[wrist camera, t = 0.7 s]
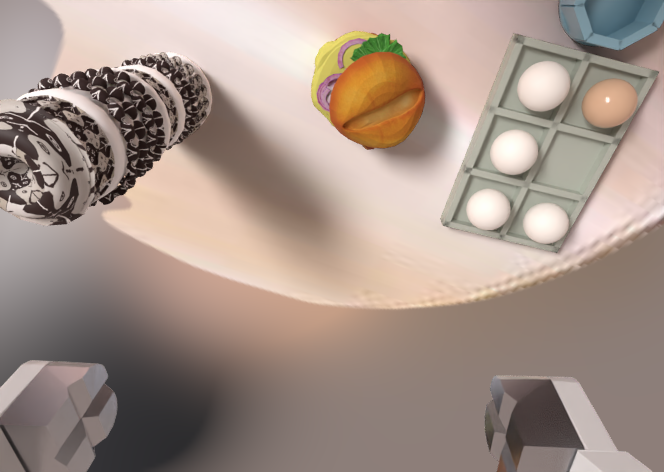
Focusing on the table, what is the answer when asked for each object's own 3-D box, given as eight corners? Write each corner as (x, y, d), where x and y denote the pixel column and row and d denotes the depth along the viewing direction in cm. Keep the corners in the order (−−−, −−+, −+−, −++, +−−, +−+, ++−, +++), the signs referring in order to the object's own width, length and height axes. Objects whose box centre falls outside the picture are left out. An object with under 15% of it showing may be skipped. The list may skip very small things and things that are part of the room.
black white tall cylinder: (200, 150, 50) (75, 267, 29) (122, 111, 49) (-74, 204, 27) (228, 76, 46) (108, 147, 24) (144, 31, 45) (-66, 63, 23)
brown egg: (587, 69, 43) (610, 77, 39) (631, 81, 44) (658, 89, 39) (565, 115, 45) (585, 127, 41) (607, 126, 46) (630, 138, 42)
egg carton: (513, 33, 43) (531, 37, 38) (648, 69, 44) (682, 77, 39) (440, 218, 53) (447, 240, 48) (551, 245, 53) (569, 268, 49)
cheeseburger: (348, -1, 42) (371, 18, 34) (426, 64, 47) (462, 94, 39) (290, 87, 46) (298, 123, 38) (367, 139, 51) (389, 180, 43)
